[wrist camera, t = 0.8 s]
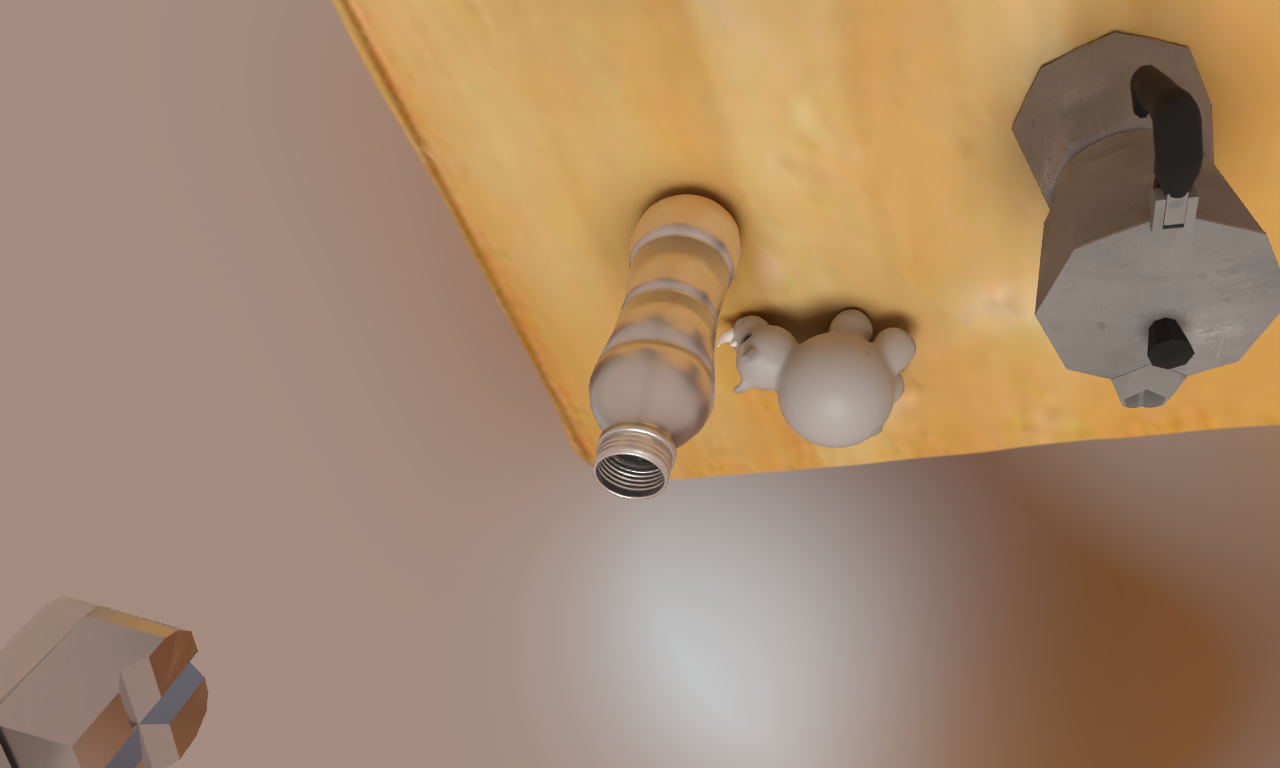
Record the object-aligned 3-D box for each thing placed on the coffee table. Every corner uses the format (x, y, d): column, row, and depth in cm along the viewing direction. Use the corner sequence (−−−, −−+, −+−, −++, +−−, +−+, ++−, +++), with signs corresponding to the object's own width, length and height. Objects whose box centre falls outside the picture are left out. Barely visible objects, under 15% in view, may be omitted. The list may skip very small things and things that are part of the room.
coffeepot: (1194, 210, 53) (1279, 465, 41) (1009, 226, 56) (1037, 469, 44) (1240, -78, 43) (1372, 148, 31) (1010, -40, 46) (1047, 181, 33)
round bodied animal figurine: (764, 252, 64) (698, 322, 59) (936, 329, 60) (881, 412, 55) (747, 332, 69) (685, 403, 64) (904, 407, 65) (851, 490, 60)
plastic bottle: (619, 201, 60) (534, 448, 46) (717, 163, 57) (657, 418, 43) (669, 277, 63) (605, 527, 50) (764, 246, 60) (722, 504, 47)
